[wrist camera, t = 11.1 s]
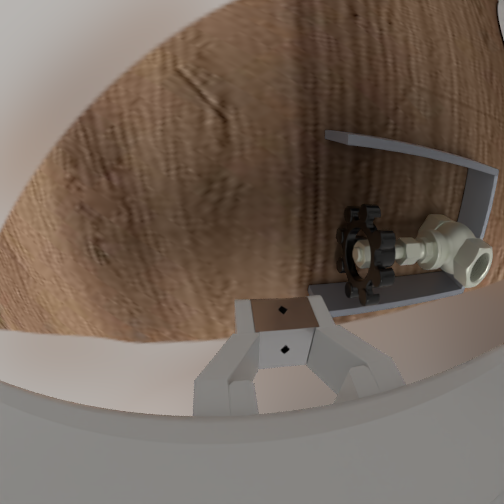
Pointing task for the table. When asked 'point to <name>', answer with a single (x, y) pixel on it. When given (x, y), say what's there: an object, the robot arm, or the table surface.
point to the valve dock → (426, 284)
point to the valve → (407, 252)
